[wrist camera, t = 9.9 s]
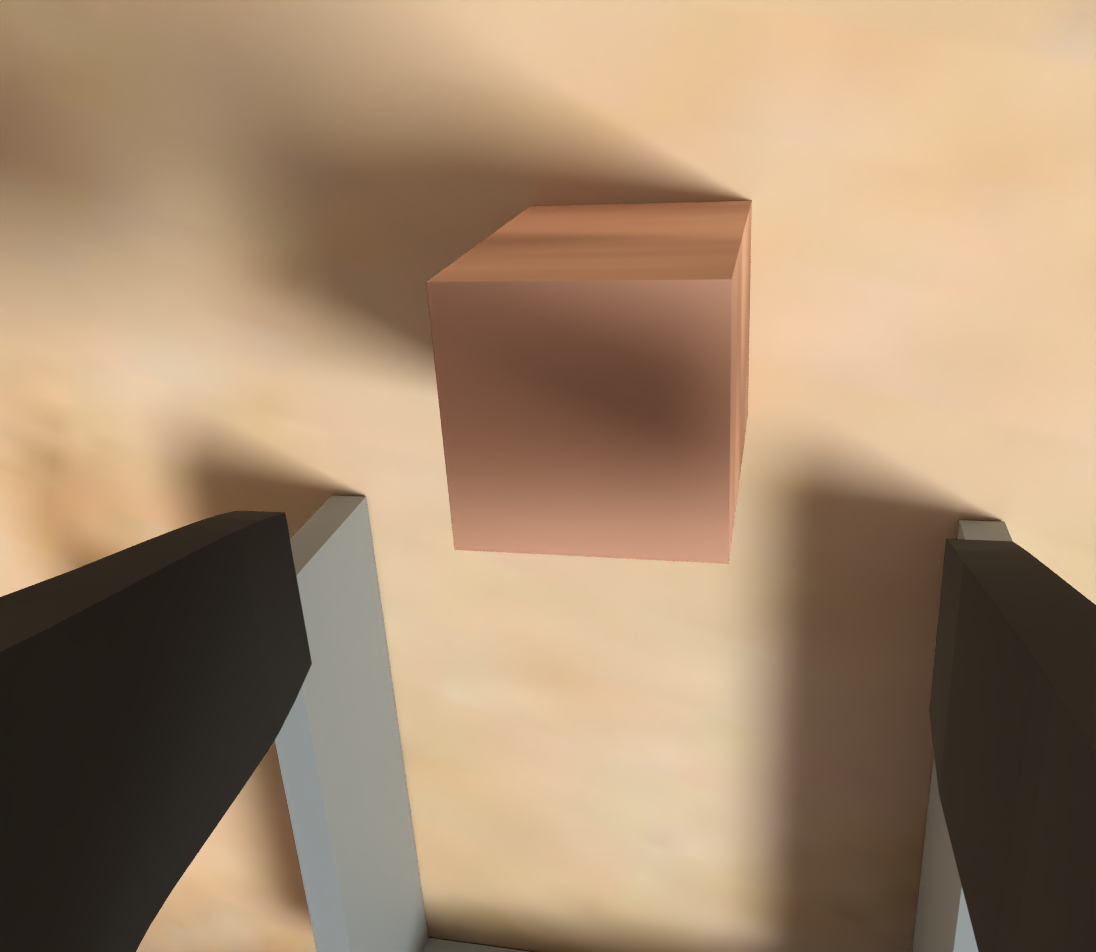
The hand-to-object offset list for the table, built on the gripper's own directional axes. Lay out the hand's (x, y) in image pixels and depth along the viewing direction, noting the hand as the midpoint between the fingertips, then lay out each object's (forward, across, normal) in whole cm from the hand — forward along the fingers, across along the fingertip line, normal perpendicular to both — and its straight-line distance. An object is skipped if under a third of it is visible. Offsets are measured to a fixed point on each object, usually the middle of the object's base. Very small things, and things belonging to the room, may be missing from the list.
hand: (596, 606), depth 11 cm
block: (+9, +1, -1) cm, 9 cm away
